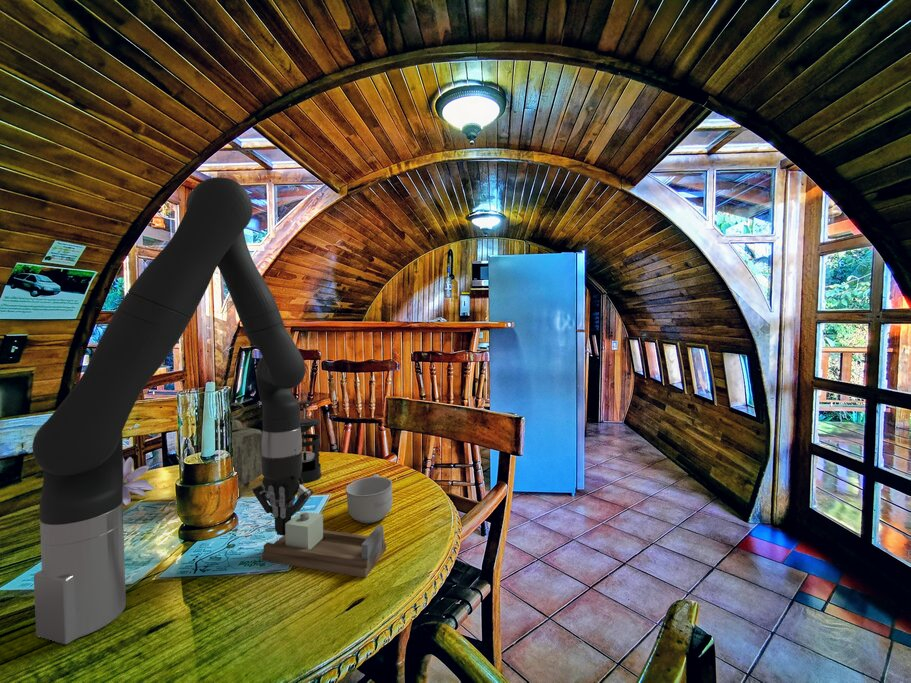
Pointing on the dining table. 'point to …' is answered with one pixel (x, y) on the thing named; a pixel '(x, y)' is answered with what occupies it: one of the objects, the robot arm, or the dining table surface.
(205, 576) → the dining table surface
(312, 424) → the french press
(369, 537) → the track
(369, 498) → the teacup
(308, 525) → the slider
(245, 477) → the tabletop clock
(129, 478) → the water lily
